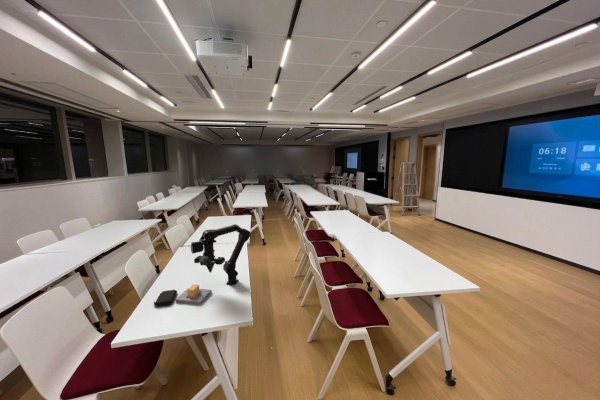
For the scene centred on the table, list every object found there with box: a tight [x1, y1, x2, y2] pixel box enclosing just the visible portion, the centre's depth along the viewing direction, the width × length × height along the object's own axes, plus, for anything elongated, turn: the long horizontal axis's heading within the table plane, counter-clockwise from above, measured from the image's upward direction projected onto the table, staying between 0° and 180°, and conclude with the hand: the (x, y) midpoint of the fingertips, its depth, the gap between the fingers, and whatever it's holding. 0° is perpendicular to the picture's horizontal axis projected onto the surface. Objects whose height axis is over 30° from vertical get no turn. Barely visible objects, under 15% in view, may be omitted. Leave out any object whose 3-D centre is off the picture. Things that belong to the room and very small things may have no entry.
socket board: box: [174, 287, 212, 306], centre depth 147 cm, size 13×16×2 cm
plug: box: [187, 284, 200, 299], centre depth 146 cm, size 6×4×7 cm, turn 172°
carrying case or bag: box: [153, 289, 178, 308], centre depth 145 cm, size 11×3×15 cm
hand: (210, 272), depth 154 cm, fingers closed
